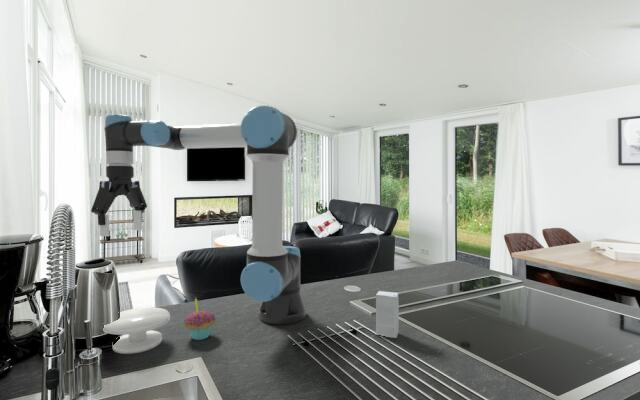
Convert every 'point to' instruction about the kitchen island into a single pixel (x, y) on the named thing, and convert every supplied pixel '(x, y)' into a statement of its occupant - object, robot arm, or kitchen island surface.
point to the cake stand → (138, 329)
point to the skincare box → (387, 314)
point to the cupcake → (199, 323)
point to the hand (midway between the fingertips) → (122, 233)
